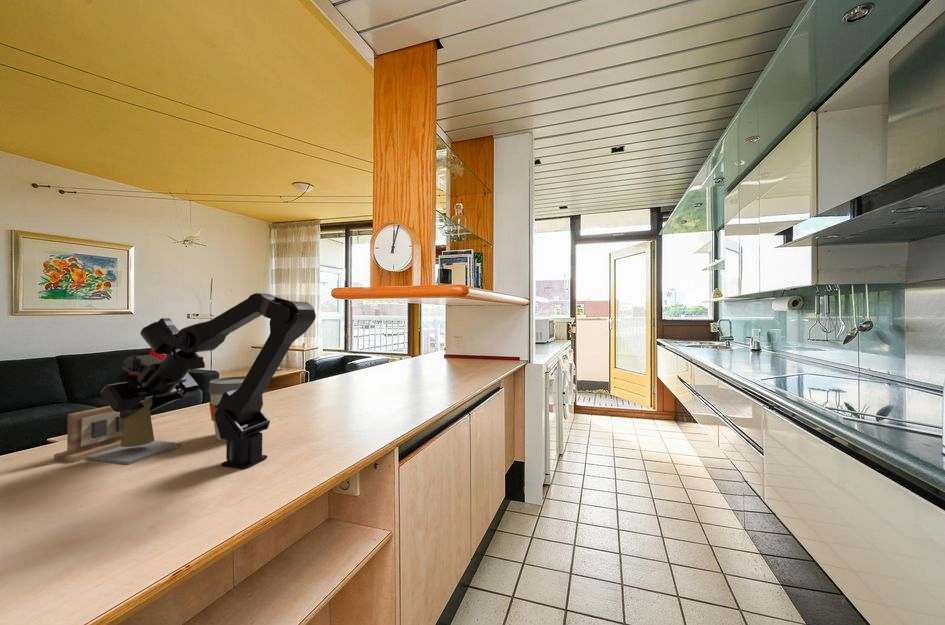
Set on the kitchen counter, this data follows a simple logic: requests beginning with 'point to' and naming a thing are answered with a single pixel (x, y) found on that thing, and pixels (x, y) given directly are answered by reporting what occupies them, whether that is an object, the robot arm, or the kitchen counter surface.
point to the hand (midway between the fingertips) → (133, 414)
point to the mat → (134, 452)
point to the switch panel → (92, 433)
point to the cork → (138, 427)
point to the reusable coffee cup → (216, 392)
